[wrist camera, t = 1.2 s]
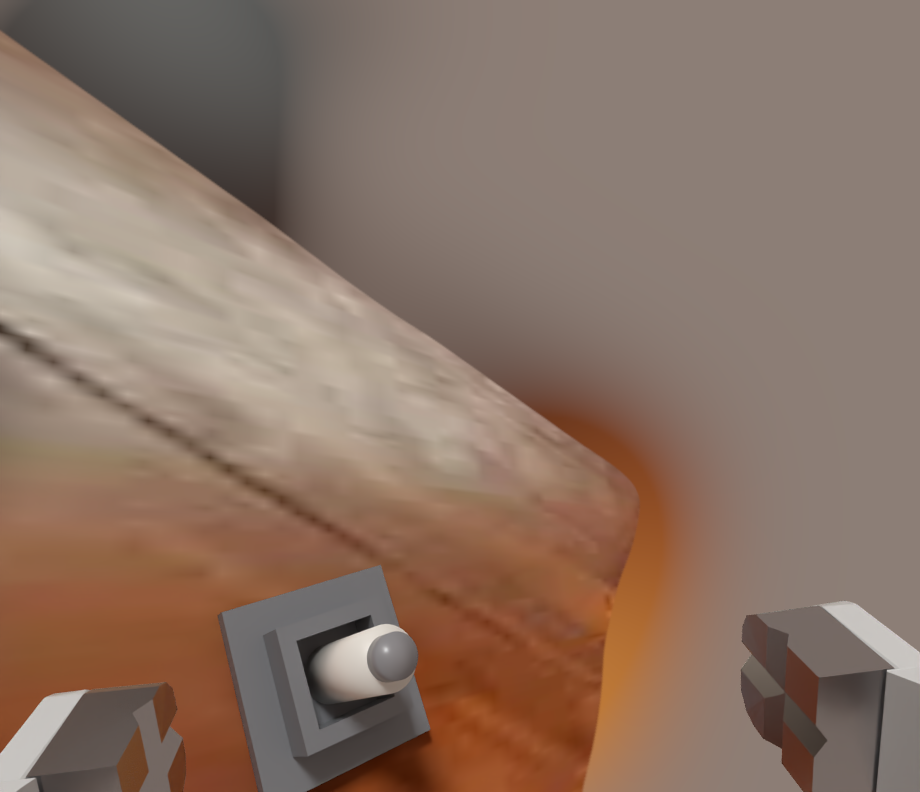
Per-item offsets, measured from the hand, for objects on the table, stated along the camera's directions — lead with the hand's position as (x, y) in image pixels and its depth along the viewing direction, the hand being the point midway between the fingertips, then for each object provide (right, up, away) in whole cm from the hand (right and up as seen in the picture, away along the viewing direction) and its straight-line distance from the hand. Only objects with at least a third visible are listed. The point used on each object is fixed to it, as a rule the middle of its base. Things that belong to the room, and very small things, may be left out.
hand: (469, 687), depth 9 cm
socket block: (-9, -14, +33) cm, 37 cm away
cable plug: (-8, -13, +32) cm, 36 cm away
